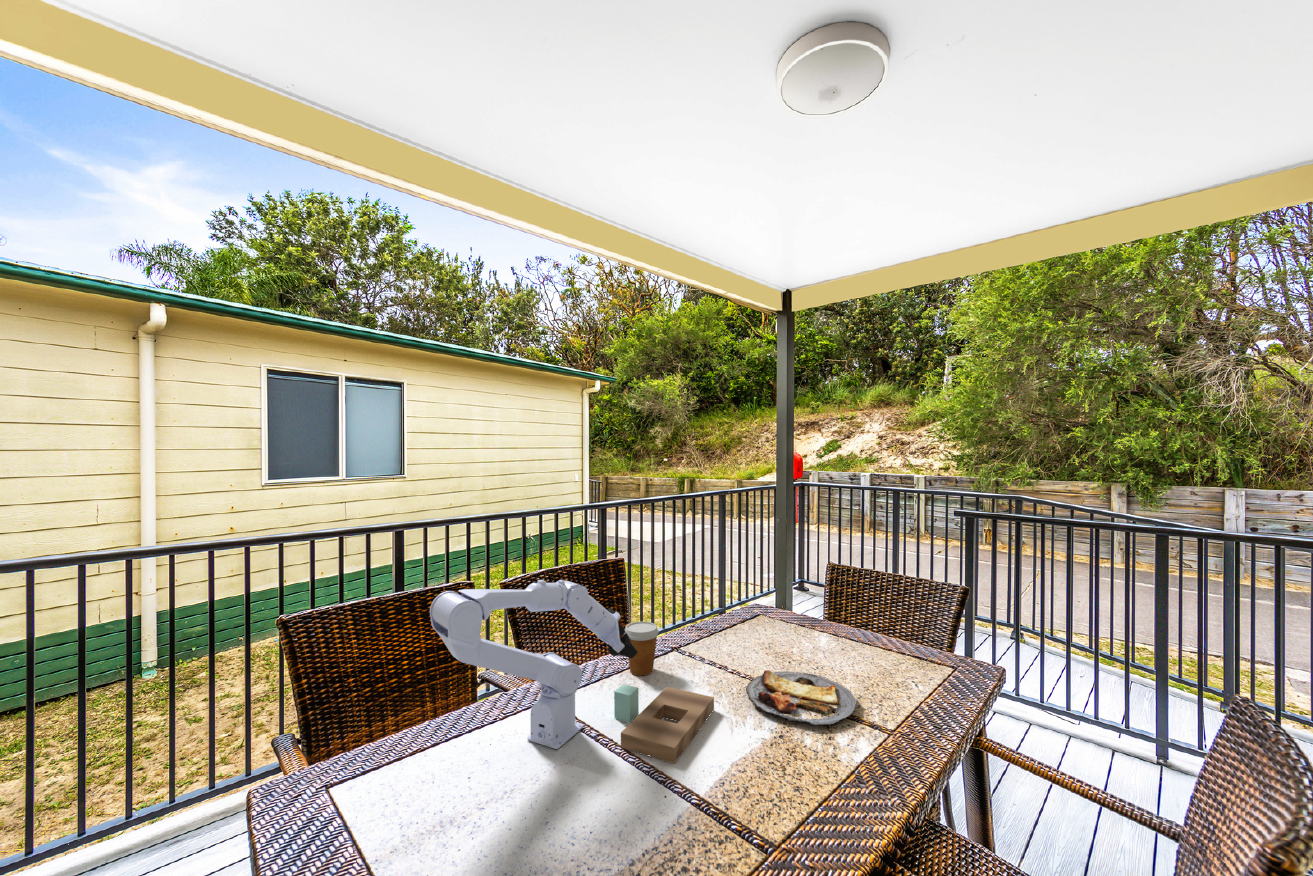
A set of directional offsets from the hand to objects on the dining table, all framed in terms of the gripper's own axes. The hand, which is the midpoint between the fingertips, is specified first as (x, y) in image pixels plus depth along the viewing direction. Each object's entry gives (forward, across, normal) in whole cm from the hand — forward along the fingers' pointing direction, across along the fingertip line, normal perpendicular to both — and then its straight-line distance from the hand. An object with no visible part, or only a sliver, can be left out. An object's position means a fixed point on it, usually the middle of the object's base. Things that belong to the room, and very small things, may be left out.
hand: (628, 644), depth 122 cm
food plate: (+31, -23, -21) cm, 43 cm away
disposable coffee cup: (+19, +8, +5) cm, 21 cm away
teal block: (+5, -11, +10) cm, 15 cm away
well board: (+8, -19, +3) cm, 21 cm away
